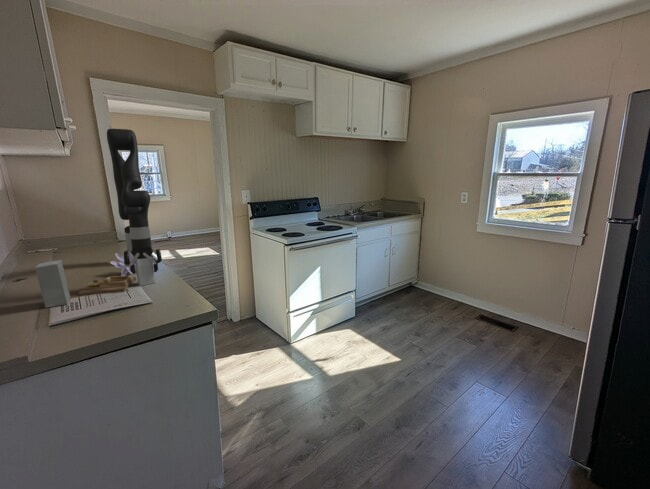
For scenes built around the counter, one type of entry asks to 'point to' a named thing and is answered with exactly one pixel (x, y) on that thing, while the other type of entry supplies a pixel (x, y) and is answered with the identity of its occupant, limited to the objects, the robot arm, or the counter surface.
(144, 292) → the counter surface
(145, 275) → the skincare box
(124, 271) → the water lily
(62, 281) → the skincare box
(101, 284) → the carrier board
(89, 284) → the brass knob disc
